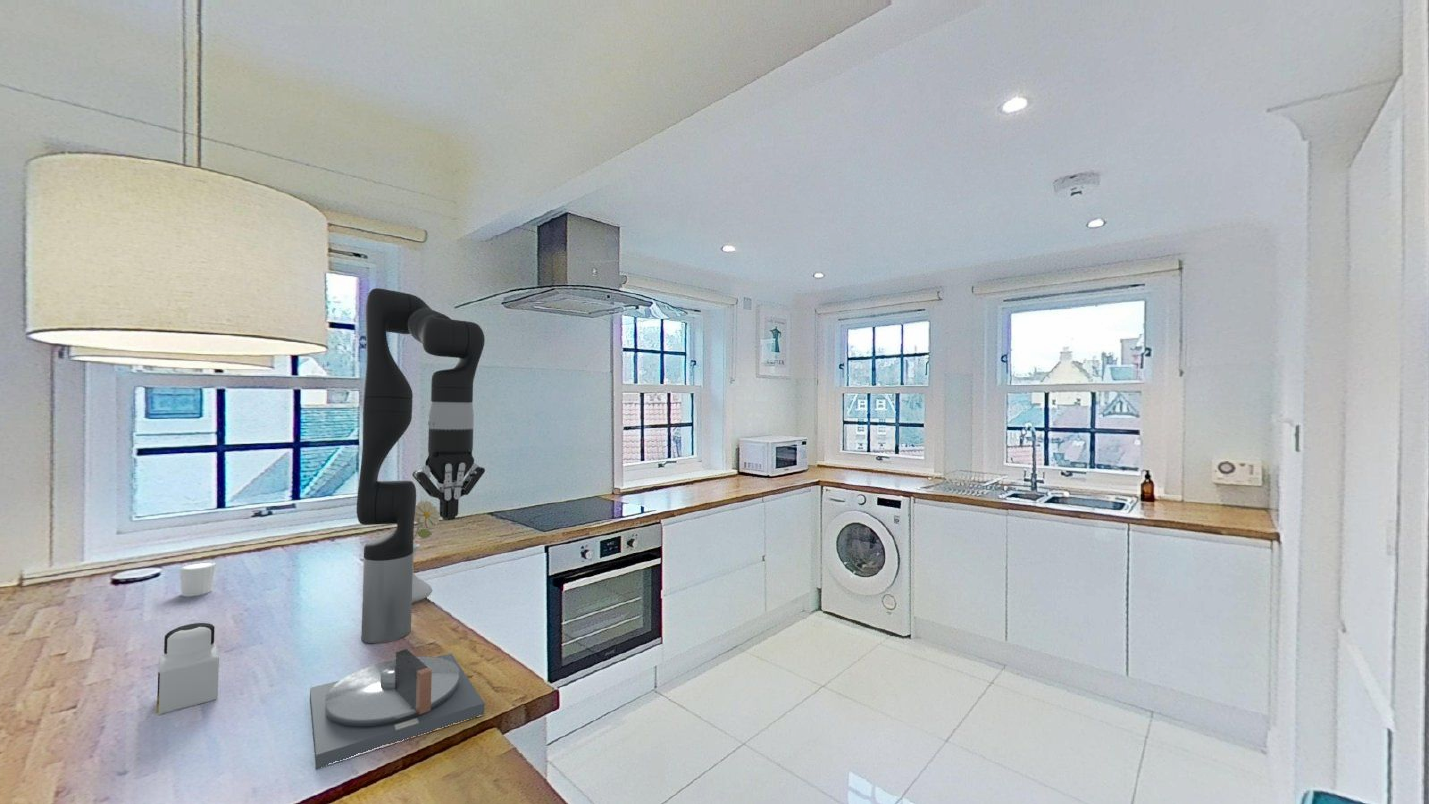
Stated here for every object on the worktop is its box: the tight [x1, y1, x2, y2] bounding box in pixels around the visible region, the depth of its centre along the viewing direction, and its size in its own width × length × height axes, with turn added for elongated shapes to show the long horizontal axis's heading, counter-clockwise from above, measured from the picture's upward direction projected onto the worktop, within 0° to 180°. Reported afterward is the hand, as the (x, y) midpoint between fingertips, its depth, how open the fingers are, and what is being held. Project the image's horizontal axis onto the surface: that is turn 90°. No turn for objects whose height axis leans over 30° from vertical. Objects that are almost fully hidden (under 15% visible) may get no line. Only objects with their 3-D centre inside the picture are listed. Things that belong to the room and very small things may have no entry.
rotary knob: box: [325, 648, 459, 726], centre depth 89 cm, size 22×19×8 cm
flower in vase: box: [412, 500, 441, 603], centre depth 139 cm, size 13×11×25 cm
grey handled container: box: [156, 622, 220, 716], centre depth 91 cm, size 7×7×12 cm
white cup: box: [179, 561, 217, 597], centre depth 140 cm, size 7×7×7 cm
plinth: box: [309, 652, 485, 770], centre depth 89 cm, size 22×22×2 cm
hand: (448, 519), depth 101 cm, fingers closed
